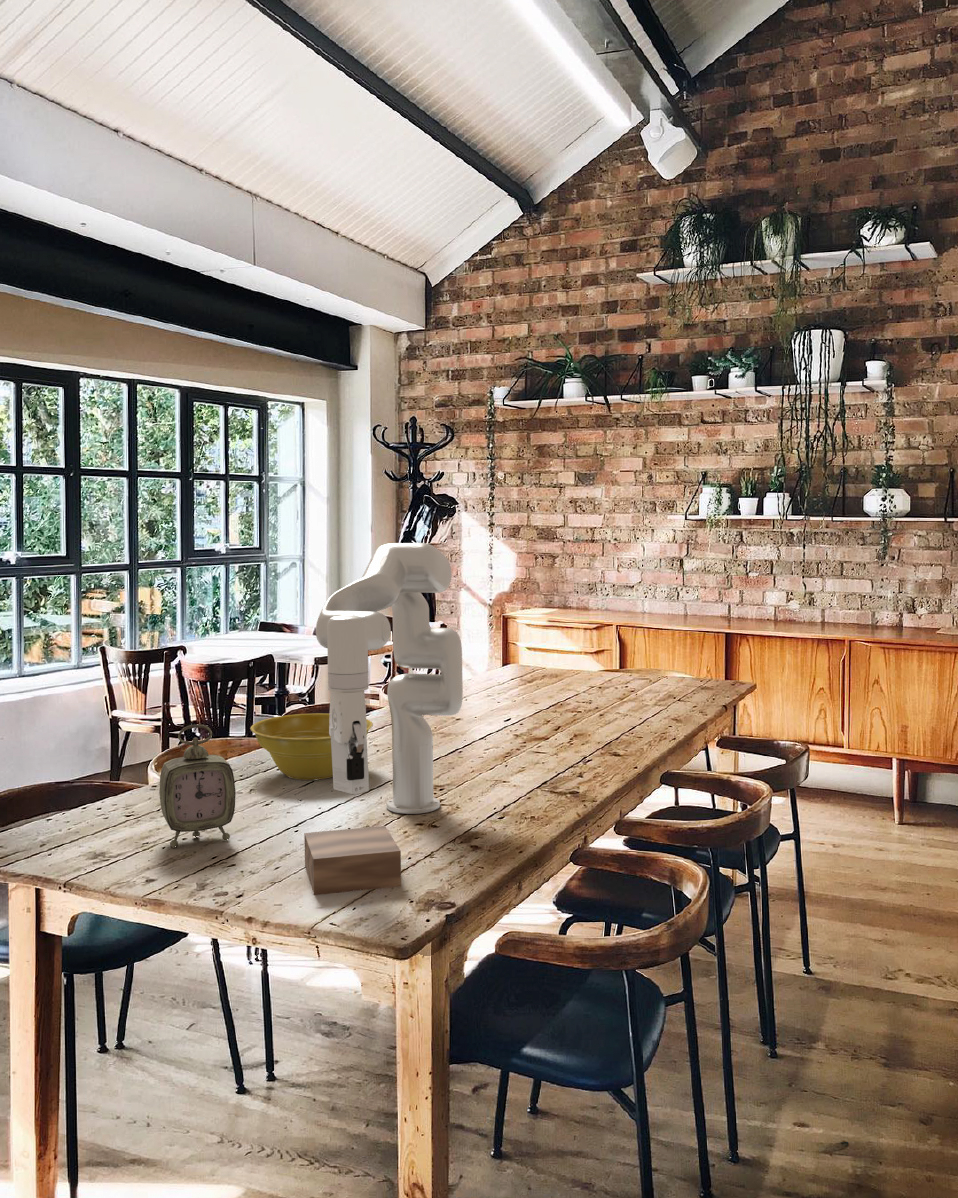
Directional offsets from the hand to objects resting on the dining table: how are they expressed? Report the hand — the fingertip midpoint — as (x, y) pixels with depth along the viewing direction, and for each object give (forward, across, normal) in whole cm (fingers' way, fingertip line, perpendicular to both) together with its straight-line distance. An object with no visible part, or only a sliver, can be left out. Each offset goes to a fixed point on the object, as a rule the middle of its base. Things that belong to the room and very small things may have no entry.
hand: (349, 774), depth 192 cm
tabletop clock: (+20, -34, -24) cm, 46 cm away
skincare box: (+3, 0, 0) cm, 3 cm away
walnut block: (+20, 0, 0) cm, 20 cm away
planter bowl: (+20, -80, +12) cm, 83 cm away
